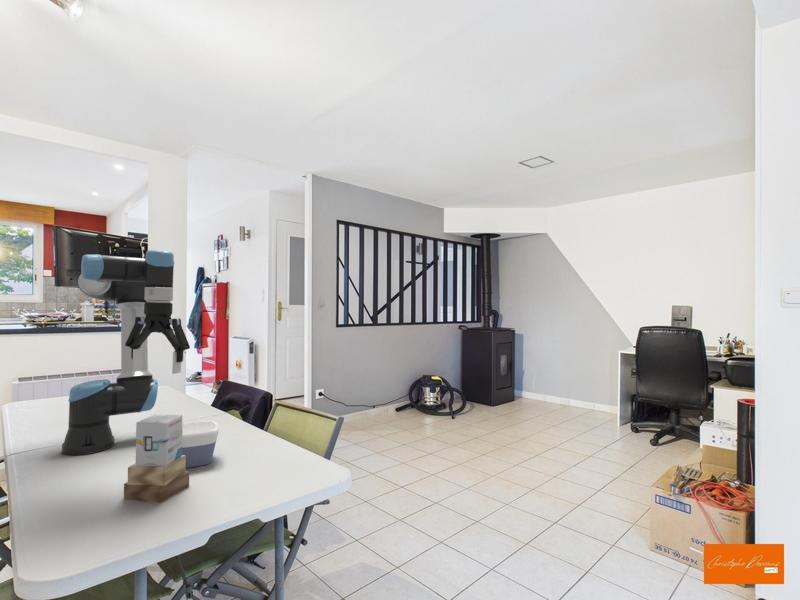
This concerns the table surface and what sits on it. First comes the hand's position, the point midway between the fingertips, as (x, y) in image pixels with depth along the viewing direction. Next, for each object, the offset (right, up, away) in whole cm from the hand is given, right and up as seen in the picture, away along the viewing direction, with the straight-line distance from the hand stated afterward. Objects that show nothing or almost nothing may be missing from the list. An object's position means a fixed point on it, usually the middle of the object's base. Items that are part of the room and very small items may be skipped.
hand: (156, 371), depth 129 cm
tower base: (+8, -31, -13) cm, 35 cm away
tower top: (+8, -27, -13) cm, 31 cm away
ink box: (+8, -23, -12) cm, 27 cm away
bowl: (+6, -31, +10) cm, 34 cm away
